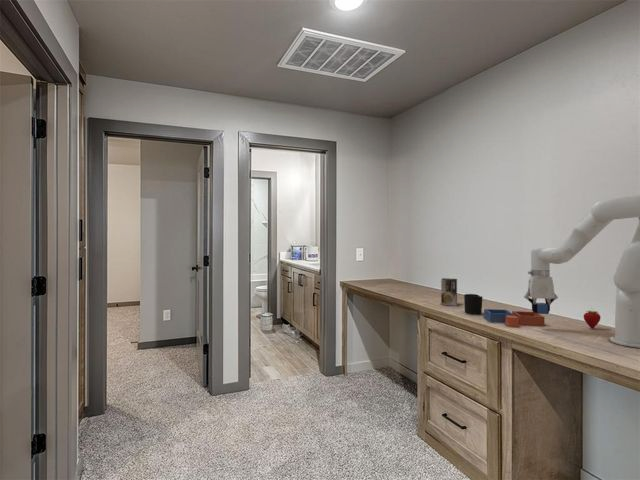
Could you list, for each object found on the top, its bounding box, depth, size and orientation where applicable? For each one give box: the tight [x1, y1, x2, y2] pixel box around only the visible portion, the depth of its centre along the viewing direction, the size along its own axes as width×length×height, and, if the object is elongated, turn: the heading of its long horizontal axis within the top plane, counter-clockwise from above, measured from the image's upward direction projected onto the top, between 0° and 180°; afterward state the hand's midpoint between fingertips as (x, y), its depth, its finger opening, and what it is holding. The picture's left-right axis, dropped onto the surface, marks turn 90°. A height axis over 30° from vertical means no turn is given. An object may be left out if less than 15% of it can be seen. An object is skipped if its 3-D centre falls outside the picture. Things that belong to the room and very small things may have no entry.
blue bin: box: [483, 308, 514, 324], centre depth 192 cm, size 11×11×4 cm
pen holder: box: [463, 293, 483, 316], centre depth 208 cm, size 9×9×10 cm
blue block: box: [536, 302, 549, 315], centre depth 175 cm, size 4×4×4 cm
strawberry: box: [583, 307, 601, 329], centre depth 176 cm, size 6×8×10 cm
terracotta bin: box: [511, 310, 546, 327], centre depth 187 cm, size 11×11×4 cm
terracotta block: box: [504, 315, 519, 328], centre depth 180 cm, size 4×4×4 cm
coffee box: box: [440, 277, 458, 307], centre depth 232 cm, size 9×6×16 cm
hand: (540, 312), depth 175 cm, fingers closed on blue block, 4 cm apart
